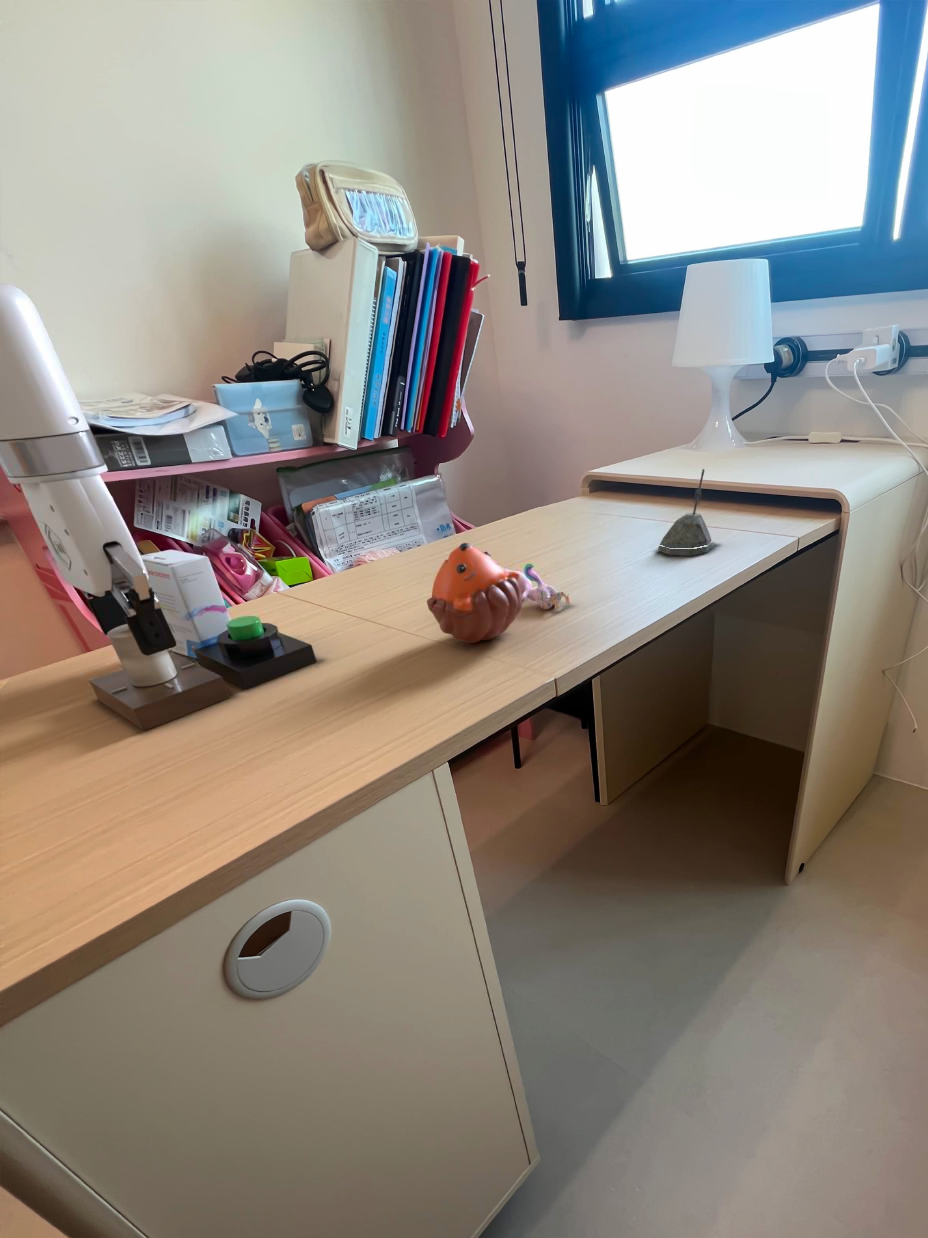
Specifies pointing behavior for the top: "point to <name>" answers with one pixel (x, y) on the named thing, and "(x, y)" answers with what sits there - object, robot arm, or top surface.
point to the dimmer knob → (140, 660)
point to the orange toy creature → (474, 596)
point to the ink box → (187, 598)
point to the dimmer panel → (161, 694)
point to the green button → (245, 627)
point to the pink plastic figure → (538, 589)
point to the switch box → (255, 656)
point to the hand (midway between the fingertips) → (140, 640)
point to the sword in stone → (688, 533)
